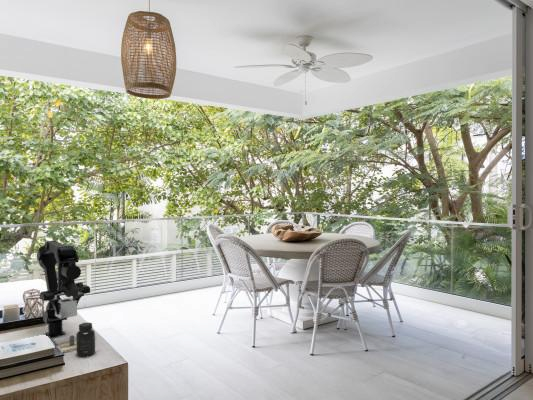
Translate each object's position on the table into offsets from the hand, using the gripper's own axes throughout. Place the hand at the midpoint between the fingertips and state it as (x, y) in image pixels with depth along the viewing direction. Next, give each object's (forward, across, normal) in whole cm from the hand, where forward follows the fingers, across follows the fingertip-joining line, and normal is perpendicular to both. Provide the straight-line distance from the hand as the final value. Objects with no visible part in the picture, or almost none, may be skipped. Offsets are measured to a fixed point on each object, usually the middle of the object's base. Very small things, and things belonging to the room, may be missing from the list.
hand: (66, 312), depth 178 cm
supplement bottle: (+14, +1, -17) cm, 21 cm away
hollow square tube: (+1, 0, 0) cm, 1 cm away
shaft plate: (+13, 0, -6) cm, 14 cm away
